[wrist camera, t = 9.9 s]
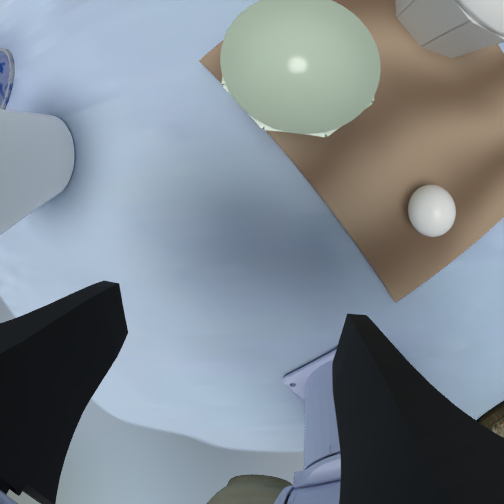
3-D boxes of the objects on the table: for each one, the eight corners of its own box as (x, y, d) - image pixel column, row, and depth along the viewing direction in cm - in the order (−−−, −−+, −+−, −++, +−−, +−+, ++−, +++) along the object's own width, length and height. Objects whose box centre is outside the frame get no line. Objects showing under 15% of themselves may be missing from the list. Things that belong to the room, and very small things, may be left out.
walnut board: (548, 165, 13) (552, 166, 13) (393, 299, 19) (395, 302, 19) (404, -58, 9) (406, -61, 8) (201, 62, 15) (199, 60, 14)
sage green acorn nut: (366, 96, 14) (409, 79, 8) (290, 152, 16) (291, 165, 10) (301, 24, 13) (306, -29, 7) (226, 80, 15) (189, 53, 9)
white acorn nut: (482, 38, 11) (541, 20, 5) (436, 69, 12) (499, 50, 6) (429, -27, 9) (472, -67, 3) (377, -2, 11) (413, -52, 5)
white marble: (448, 209, 16) (471, 224, 13) (414, 236, 17) (433, 254, 14) (428, 170, 15) (451, 179, 12) (392, 198, 16) (410, 212, 13)
